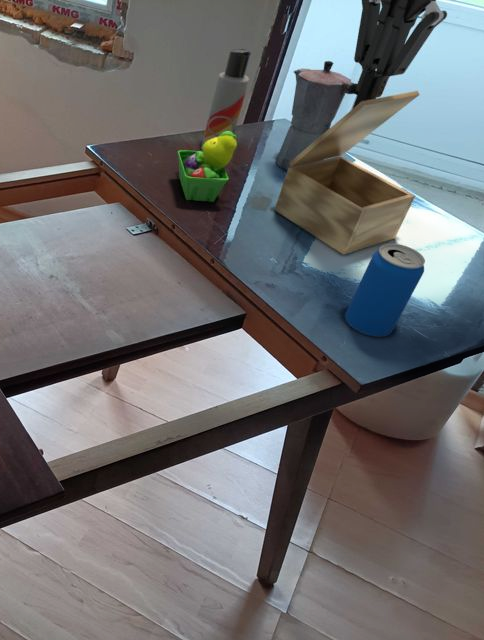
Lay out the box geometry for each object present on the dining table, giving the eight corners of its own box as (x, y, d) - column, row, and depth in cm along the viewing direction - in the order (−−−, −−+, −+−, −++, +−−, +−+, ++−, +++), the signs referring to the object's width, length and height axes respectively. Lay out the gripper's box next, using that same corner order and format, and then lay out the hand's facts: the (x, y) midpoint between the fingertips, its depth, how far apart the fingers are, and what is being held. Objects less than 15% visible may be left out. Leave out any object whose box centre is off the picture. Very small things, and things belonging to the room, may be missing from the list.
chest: (393, 242, 116) (415, 195, 110) (341, 258, 111) (362, 210, 105) (323, 200, 126) (340, 155, 120) (272, 213, 121) (288, 167, 115)
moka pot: (281, 146, 143) (313, 47, 130) (347, 175, 135) (389, 72, 122) (254, 157, 139) (284, 55, 125) (321, 188, 130) (361, 82, 117)
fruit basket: (171, 174, 131) (184, 116, 123) (217, 177, 131) (233, 120, 124) (179, 203, 122) (193, 143, 115) (229, 207, 122) (246, 147, 115)
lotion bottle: (215, 159, 137) (243, 56, 124) (194, 149, 140) (219, 47, 127) (234, 153, 139) (263, 51, 126) (213, 143, 143) (239, 42, 130)
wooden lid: (420, 94, 105) (417, 90, 105) (364, 105, 100) (361, 101, 100) (342, 155, 120) (340, 151, 120) (290, 167, 115) (288, 163, 115)
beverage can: (368, 308, 101) (402, 238, 93) (400, 335, 96) (439, 264, 89) (333, 316, 99) (365, 246, 91) (365, 344, 95) (401, 272, 87)
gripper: (368, -65, 96) (311, 103, 111) (450, -44, 87) (377, 134, 103) (403, -66, 99) (343, 97, 114) (486, -46, 90) (409, 127, 105)
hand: (359, 114), depth 108 cm, fingers closed
